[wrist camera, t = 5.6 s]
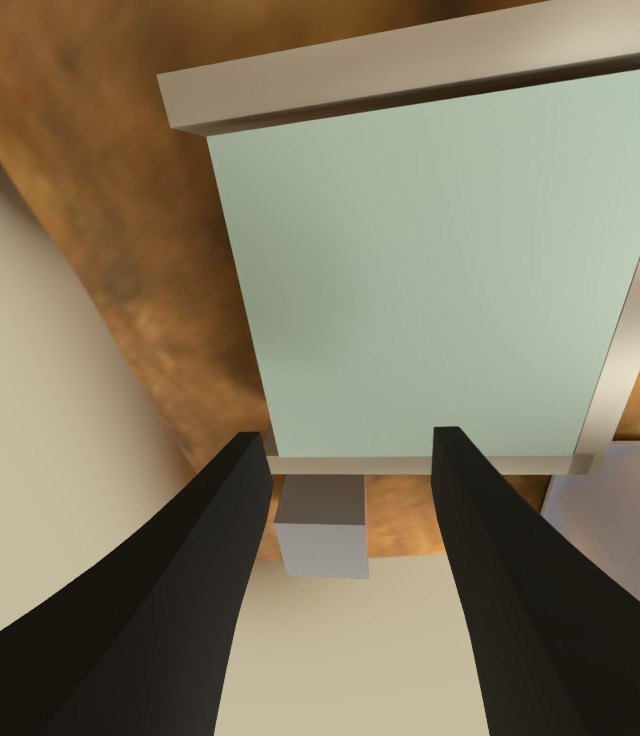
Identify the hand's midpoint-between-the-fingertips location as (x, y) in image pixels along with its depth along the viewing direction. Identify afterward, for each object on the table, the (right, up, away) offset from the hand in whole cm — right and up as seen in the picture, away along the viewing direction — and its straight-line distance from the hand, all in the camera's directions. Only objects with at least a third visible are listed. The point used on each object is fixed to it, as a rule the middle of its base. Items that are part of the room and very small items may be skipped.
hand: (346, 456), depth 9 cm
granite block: (0, -6, +14) cm, 15 cm away
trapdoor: (+3, +4, +3) cm, 6 cm away
